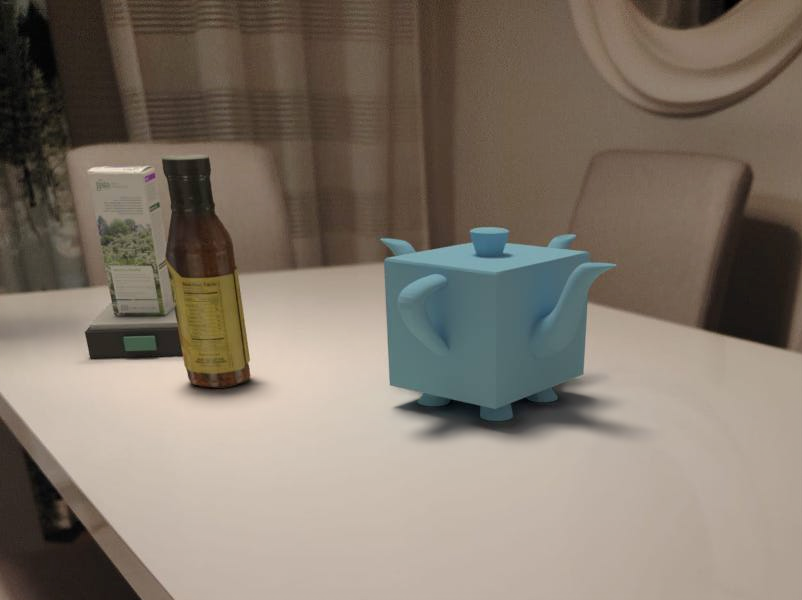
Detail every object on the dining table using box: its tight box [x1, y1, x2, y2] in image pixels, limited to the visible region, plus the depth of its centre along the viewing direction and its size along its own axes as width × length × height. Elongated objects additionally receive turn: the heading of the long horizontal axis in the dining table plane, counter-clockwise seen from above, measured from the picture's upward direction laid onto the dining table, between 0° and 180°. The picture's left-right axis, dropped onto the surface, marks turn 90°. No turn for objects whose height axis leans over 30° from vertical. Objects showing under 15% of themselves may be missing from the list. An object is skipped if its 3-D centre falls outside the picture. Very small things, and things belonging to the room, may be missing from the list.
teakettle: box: [379, 226, 618, 422], centre depth 84 cm, size 19×19×15 cm
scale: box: [84, 302, 183, 359], centre depth 105 cm, size 11×14×3 cm
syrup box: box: [86, 165, 174, 316], centre depth 101 cm, size 6×6×14 cm
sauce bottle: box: [161, 153, 251, 389], centre depth 87 cm, size 6×6×20 cm
